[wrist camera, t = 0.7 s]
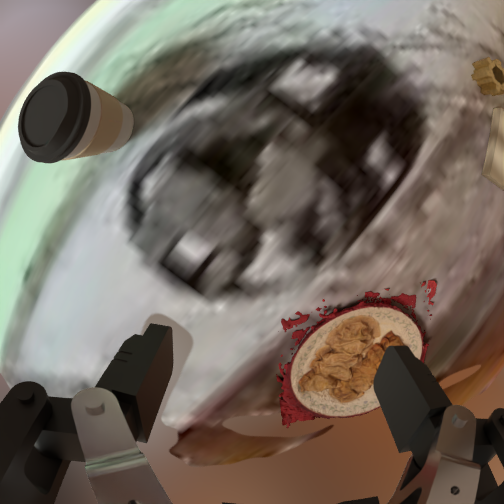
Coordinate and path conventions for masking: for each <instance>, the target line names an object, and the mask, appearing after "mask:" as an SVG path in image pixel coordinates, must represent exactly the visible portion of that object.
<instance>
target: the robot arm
mask: <svg viewBox="0 0 504 504" xmlns="http://www.w3.org/2000/svg"><path fill="white" fill-rule="evenodd" d="M172 370H173V339H172V328H171V327H169V326H163V325H157V324H152V323H151V324H150V325H149V327H148V328H147V330H146V331H145V333H144V335H143V336H142V335H137V334H135V335H133V336H132V337H130V338H129V339H127V340H126V341H124V343H123V344H122V346H121V347H120V349H119V352H117V353H116V355H115V356H114V360H112V361H111V363H110V364H109V366H108V367H107V369H106V370H105V372H104V373H103V375H102V377H101V378H100V380H99V381H98V383H97V385H96V386H95V387H92V388H87V389H84V390H81V391H80V392H78V393H77V394H76V395H75V396H74V398H59V397H49V396H48V395H47V393H46V390H45V389H44V387H43V386H41V385H40V384H38V383H36V382H31V381H26V382H21V383H19V384H17V385H15V386H14V387H13V388H12V389H11V390H10V391H9V393H8V394H7V395H6V397H5V398H4V399H3V401H2V402H1V403H0V504H54V502H55V500H56V497H57V494H58V492H59V489H60V487H61V484H62V481H63V479H64V476H65V474H66V471H67V469H68V467H69V464H70V462H71V461H81V462H86V464H87V465H85V469H86V473H87V476H88V479H89V482H90V484H91V487H92V490H93V492H94V495H95V497H96V499H97V502H98V504H173V503H172V502H171V500H170V499H169V497H168V495H167V494H166V492H165V490H164V489H163V487H162V485H161V484H160V482H159V480H158V479H157V477H156V475H155V473H154V472H153V470H152V468H151V466H150V464H149V462H148V461H147V459H146V457H145V455H144V454H143V453H141V451H140V450H139V448H138V446H137V444H136V441H139V442H144V443H147V442H148V439H149V436H150V433H151V430H152V427H153V424H154V422H155V419H156V416H157V413H158V410H159V408H160V405H161V402H162V399H163V396H164V394H165V391H166V388H167V386H168V383H169V380H170V378H171V375H172ZM436 381H437V380H436V379H435V377H434V376H433V375H432V373H431V371H430V370H429V368H428V367H427V365H426V364H424V363H423V362H422V361H421V360H419V359H418V358H417V357H415V355H414V354H413V352H412V351H411V350H410V348H409V347H408V346H406V345H404V346H388V347H387V349H386V351H385V353H384V355H383V358H382V360H381V363H380V365H379V367H378V370H377V372H376V374H375V377H374V382H373V387H374V392H375V394H376V396H377V399H378V401H379V404H380V406H381V408H382V411H383V413H384V415H385V418H386V421H387V423H388V425H389V428H390V430H391V433H392V436H393V438H394V441H395V443H396V446H397V448H398V451H399V453H401V452H406V451H412V453H413V454H412V455H411V457H410V458H409V460H408V462H407V465H406V467H405V470H404V472H403V474H402V477H401V479H400V481H399V483H398V486H397V488H396V490H395V492H394V494H393V496H392V498H391V499H390V500H389V502H388V503H387V504H504V481H503V483H502V484H501V485H499V486H498V485H497V483H496V481H495V478H494V476H493V474H492V471H491V469H490V467H489V465H488V462H489V461H490V460H491V459H492V458H493V457H494V456H495V455H496V454H497V455H498V457H499V459H500V461H501V463H502V465H503V467H504V409H503V408H498V409H496V410H494V411H493V413H492V414H491V416H490V417H489V419H477V418H475V416H474V414H473V413H472V412H471V411H470V410H469V409H467V408H465V407H463V406H460V405H452V403H451V402H450V400H449V399H448V397H447V396H446V394H445V392H444V391H443V389H442V388H441V387H440V385H439V383H438V382H436ZM222 504H234V503H222ZM338 504H379V500H378V497H377V496H376V497H371V498H365V499H359V500H352V501H345V502H341V503H338Z"/></svg>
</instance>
